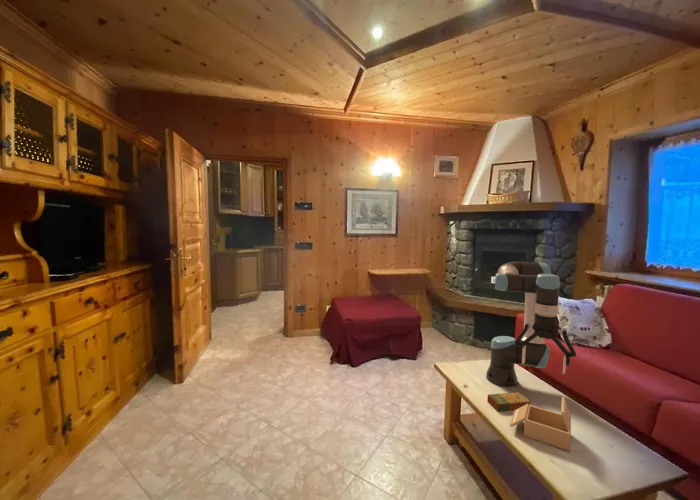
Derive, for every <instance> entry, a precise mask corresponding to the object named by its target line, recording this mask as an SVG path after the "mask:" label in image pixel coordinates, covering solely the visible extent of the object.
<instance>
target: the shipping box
mask: <svg viewBox="0 0 700 500" xmlns="http://www.w3.org/2000/svg"><path fill="white" fill-rule="evenodd" d="M571 418H572V417H571V416H570V432H568V430H567V428H566V425H565V422H564V419H563V416H562V413H558V412H555V411H552V410H548V409H545V408H542V407H539V406H534V405H532V404H530V405H529V404H526V405H524V406H522V407H520V408H518V409H516V410H514V411H513V414H512V417H511V420H510V423H509V426H510V428H512V427H514V426H517V425H519V424H521V423H522V422H524V427H523V437H524V438H527V439H529V440H531V441H532V440H533V441H535V442H538V443H541V444H544V445H547V446H550V447H553V448H554V449H558V450H561V451H564V452H566V453H570V452H571V451H570V450H571V437H572V433H571V431H572V429H571V428H572V419H571Z"/></svg>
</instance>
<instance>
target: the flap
mask: <svg viewBox="0 0 700 500" xmlns="http://www.w3.org/2000/svg"><path fill="white" fill-rule="evenodd" d="M560 414H562V416H563V419H564V422H565V425H566V428H567V430H568V432H570V417H571V413H570V410H569V407H568V404H567V401H566V399H565V397H564V396H562V397H561V408H560Z"/></svg>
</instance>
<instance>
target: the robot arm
mask: <svg viewBox="0 0 700 500" xmlns="http://www.w3.org/2000/svg"><path fill="white" fill-rule="evenodd" d="M494 278H495V281H494V282H495V283H494V289H495V290H497V291H502V292H512V293H513V292H516V293H524V294H525V295H524V317H523V319H524V320H523V330H522V331H521V333H520V334H519V335H518V337H517V338H514V337H513V336H509V335H508V336H507V335H499V336H495V337H493V338H492V339H491V345H490V364H489V366H488V368H487V371H486V374H485V377H486V380H488V381H489V382H491V383H493V384H495V385H498V386H502V387H515V386H516V385H518V376H517V372H516V369H515V365H520V366H525V367H526V366H527V367H533V368H535V369H536V368H538V369H545V368H546V367H547V365H548V364H549V363H548V362H549V357H550V346H548V345H547V342H546V340H552V341H553V342H554V343H555V344H556V346H558V348H559V350H560V351H561V352H562V353H563V362H562V375H563V374H564V375H565V374H566V369H567V367H566V366H569V365H570V362H571V357H572V358H573V357H574V358H575V357H577V352H576V350H575V348H574V346H573V344H572V341H571V340H570V338H569V336H568V330H567V329H565V328H563V329H558V318H559V317H558V314H559V298H560V297H559V295H560V287H561V283H560V276H558V275H556V274H553V273H552V271H551V267H550V265H549V264H548V263H546V262H545V263H544V262H534V261H533V262H532V261H530V262H529V261H509V262H506V263H504V264H502V265H500V267H499V268H498V270H497V273H496V274H495V277H494ZM558 334H559V335H560V336H562V337H563V340H564V343H565V345H566V346H565V345H564V344H563V342H562V341H560V339H559V338H558V336H557V335H558ZM544 339H546V340H544ZM566 347H568V349H567V348H566Z"/></svg>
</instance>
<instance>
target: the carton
mask: <svg viewBox="0 0 700 500" xmlns="http://www.w3.org/2000/svg"><path fill="white" fill-rule="evenodd" d="M486 402H487V404H489V405H490V406H491V407H492V408H493V409H494V410H495V411H496V412H498V413H501V412H512V411H513V412H514V411H515V410H516V409H518V408H520V407H522V406H524V405H526V404H529V405H531V401H530V400H529V399H528V398H527V397H526V396H524V395H522V394H521V393H520V392H519V391H516V392H515V391H514V392H503V393H493V394H492V393H491V394H490V393H489V394H487V400H486Z"/></svg>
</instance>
